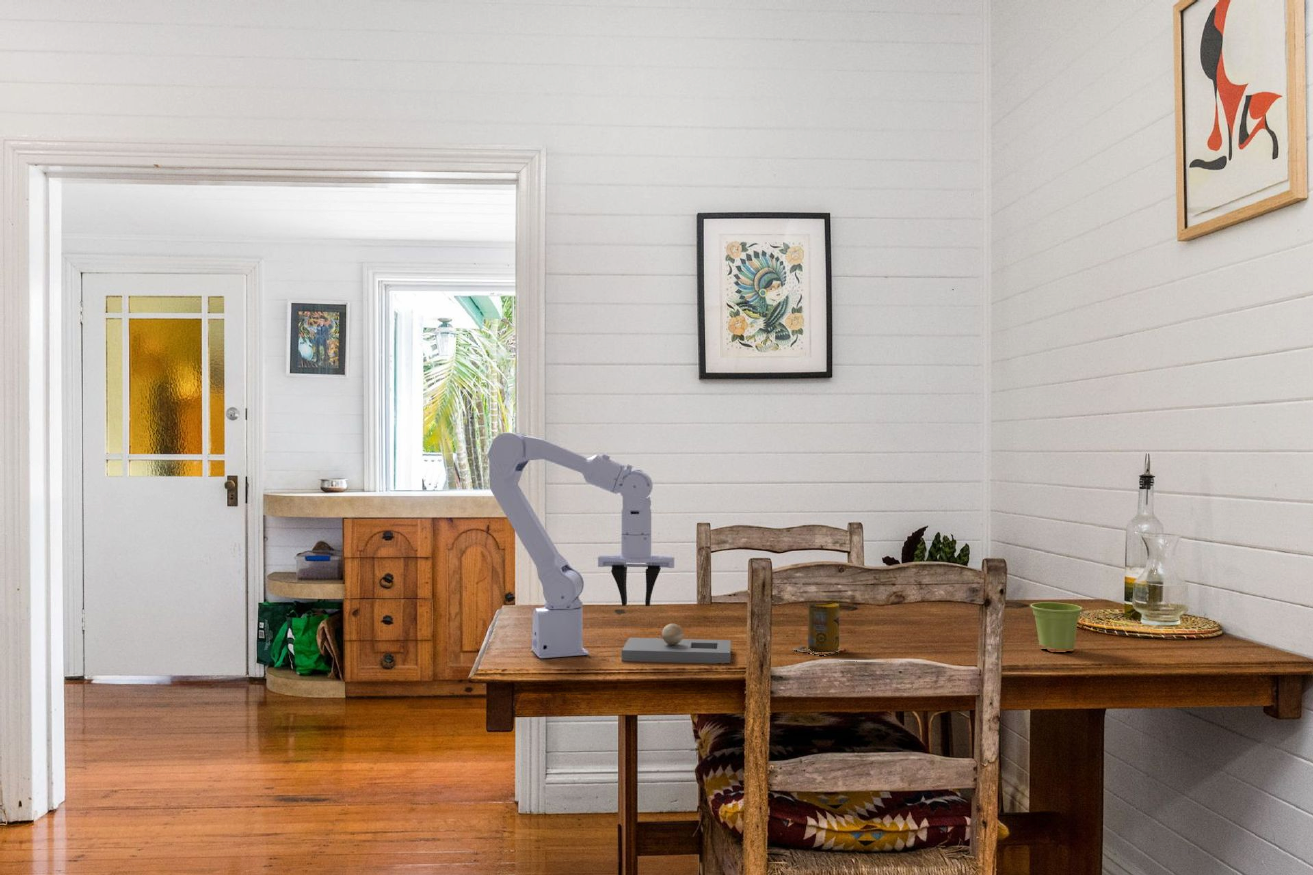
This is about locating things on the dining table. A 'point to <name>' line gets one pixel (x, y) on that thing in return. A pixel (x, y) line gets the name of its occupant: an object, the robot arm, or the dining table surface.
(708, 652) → the board
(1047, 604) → the plant pot
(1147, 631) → the dining table surface
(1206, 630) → the dining table surface
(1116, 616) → the dining table surface
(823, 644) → the condiment
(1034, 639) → the dining table surface
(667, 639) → the ball
